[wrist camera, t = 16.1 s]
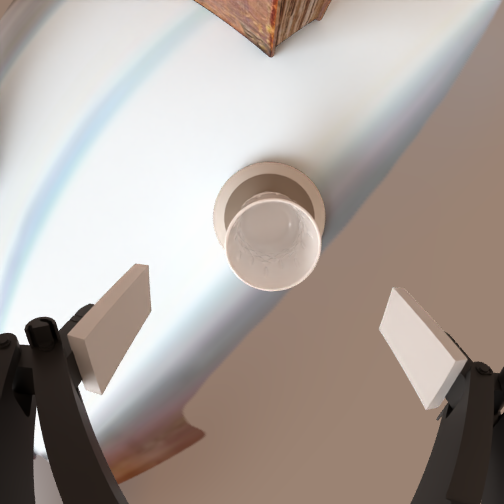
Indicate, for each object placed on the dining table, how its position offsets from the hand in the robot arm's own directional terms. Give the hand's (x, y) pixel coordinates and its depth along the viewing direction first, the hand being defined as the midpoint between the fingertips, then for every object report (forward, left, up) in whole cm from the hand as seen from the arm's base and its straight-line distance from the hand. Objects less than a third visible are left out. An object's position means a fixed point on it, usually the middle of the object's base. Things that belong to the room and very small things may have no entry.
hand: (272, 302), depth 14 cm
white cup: (0, 0, -19) cm, 19 cm away
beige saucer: (0, +1, -21) cm, 21 cm away
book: (-31, +10, -21) cm, 38 cm away
